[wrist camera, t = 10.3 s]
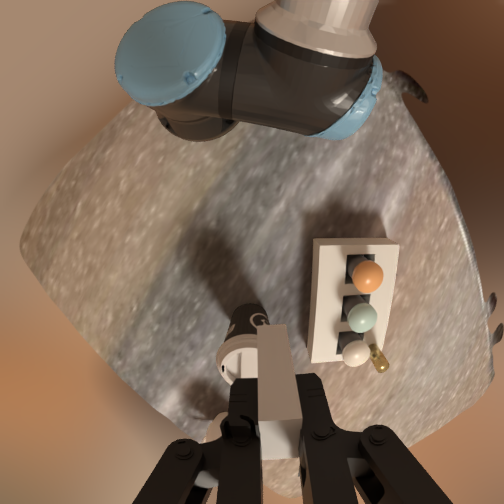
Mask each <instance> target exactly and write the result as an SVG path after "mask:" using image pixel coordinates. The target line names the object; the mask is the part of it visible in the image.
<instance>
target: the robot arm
mask: <svg viewBox="0 0 504 504" xmlns="http://www.w3.org/2000/svg"><path fill="white" fill-rule="evenodd" d="M378 1H379V0H275V1H273V2H272V3H269V4H268V5H266V6H264V7H262V8H260V9H259V10H258V11H257V13H256V17H255V24H254V23H247V22H239V21H230V20H222V19H221V17H220V16H219V15H218V14H217V13H216V12H214V11H212V10H211V9H210V8H209V7H208V6H206V5H204V4H201V3H197V2H192V1H178V2H172V3H168V4H164V5H162V6H159V7H157V8H155V9H153V10H151V11H149V12H148V13H146V14H145V15H144V16H143V18H142V19H140V20H139V21H137V22H135V23H134V24H133V25H132V26H131V27H130V28H129V29H128V30H127V32H126V33H125V35H124V36H123V38H122V40H121V41H120V44H119V46H118V49H117V52H116V56H115V74H116V77H117V80H118V82H119V84H120V85H121V87H122V88H123V89H124V90H125V91H126V92H127V93H128V94H129V95H130V96H131V98H132V99H134V100H135V101H136V102H139V103H140V104H144V105H146V106H148V107H149V108H151V109H153V110H155V111H156V114H157V116H158V119H159V120H160V122H161V123H162V125H163V126H164V127H165V128H166V129H167V130H168V131H169V132H171V133H172V134H174V135H175V136H177V137H180V138H182V139H185V140H188V141H195V142H203V141H210V140H213V139H216V138H219V137H221V136H223V135H225V134H226V133H228V132H229V131H231V130H232V129H233V128H234V127H235V126H236V125H237V124H238V123H239V121H242V122H247V123H252V124H258V125H263V126H268V127H272V128H277V129H281V130H286V131H290V132H294V133H299V134H302V135H304V136H309V137H320V138H325V139H330V140H342V139H345V138H347V137H349V136H351V135H352V134H353V133H355V132H356V131H357V130H358V129H359V128H360V127H361V126H362V125H363V123H364V122H365V121H366V119H367V118H368V116H369V115H370V113H371V111H372V109H373V107H374V105H375V103H376V100H377V99H376V94H377V92H378V91H379V90H380V88H381V83H382V66H381V63H380V61H379V59H378V57H376V56H375V55H374V54H375V52H376V49H377V45H376V42H375V40H374V38H373V37H372V35H371V33H370V31H369V29H368V26H369V23H370V21H371V18H372V16H373V14H374V11H375V9H376V6H377V4H378ZM257 359H258V378H236V379H235V381H234V382H233V383H232V385H231V388H230V398H229V408H228V416H226V417H225V418H224V419H223V420H222V421H221V424H220V429H221V434H222V436H221V437H220V438H218V439H216V440H214V441H210V442H206V443H201V444H199V443H198V442H196V441H194V440H192V439H179V440H176V441H174V442H172V443H171V444H170V445H169V446H168V447H167V449H166V450H165V452H164V454H163V455H162V457H161V459H160V460H159V462H158V464H157V465H156V467H155V468H154V470H153V472H152V473H151V475H150V476H149V478H148V480H147V481H146V483H145V484H144V486H143V488H142V489H141V491H140V492H139V494H138V495H137V497H136V498H135V500H134V501H133V503H132V504H206V502H207V500H208V498H209V495H210V493H211V490H212V488H213V487H216V486H218V492H217V502H216V504H263V477H262V460H271V459H286V458H298V457H299V458H300V467H299V474H298V477H299V476H300V479H301V488H302V496H303V504H358V500H357V496H356V492H355V488H354V486H355V487H356V489H357V491H358V492H359V494H360V496H361V497H362V499H363V500H364V502H365V504H453V503H452V502H451V500H450V499H449V498H448V497H447V496H446V494H445V493H444V492H443V491H442V490H441V488H440V487H439V486H438V485H437V484H436V482H435V481H434V480H433V479H432V478H431V476H430V475H429V474H428V473H427V472H426V470H425V469H424V468H423V467H422V465H421V464H420V463H419V462H418V461H417V459H416V458H415V457H414V456H413V455H412V453H411V452H410V451H409V450H408V449H407V447H406V446H405V445H404V444H403V442H402V441H401V440H400V439H399V438H398V436H397V435H396V434H395V433H394V432H393V430H391V429H390V428H389V427H387V426H384V425H372V426H369V427H368V428H366V429H364V431H363V432H352V431H346V430H343V429H340V428H339V427H338V426H336V425H335V423H334V422H333V420H332V417H331V413H330V410H329V406H328V402H327V399H326V396H325V392H324V389H323V384H322V381H321V379H320V378H319V377H318V376H317V375H316V374H315V373H308V374H297V375H295V372H294V366H293V361H292V355H291V350H290V345H289V339H288V334H287V329H286V324H279V325H261V326H257Z"/></svg>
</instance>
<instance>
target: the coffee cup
mask: <svg viewBox="0 0 504 504" xmlns="http://www.w3.org/2000/svg"><path fill="white" fill-rule="evenodd" d="M261 325H270V324H269V320H268V317H267V314H266V312H265V310H264V309H263V308H261V307H260V306H258V305H255V304H245V305H242V306H240V307H238V308H237V309H236V310H235V312H234V314H233V316H232V319H231V323H230V326H229V329H228V332H227V335H226V338H225V341H224V343H223V344H222V345H221V346H220V348H219V350H218V352H217V355H216V363H217V367H218V370H219V372H220V373H221V375H222V376H223V378H224V379H225V380H226V381H227V382H228V383H229V384H230V385H232V383H233V382H234V381H235V379H236V378H258V359H257V326H261Z"/></svg>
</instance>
